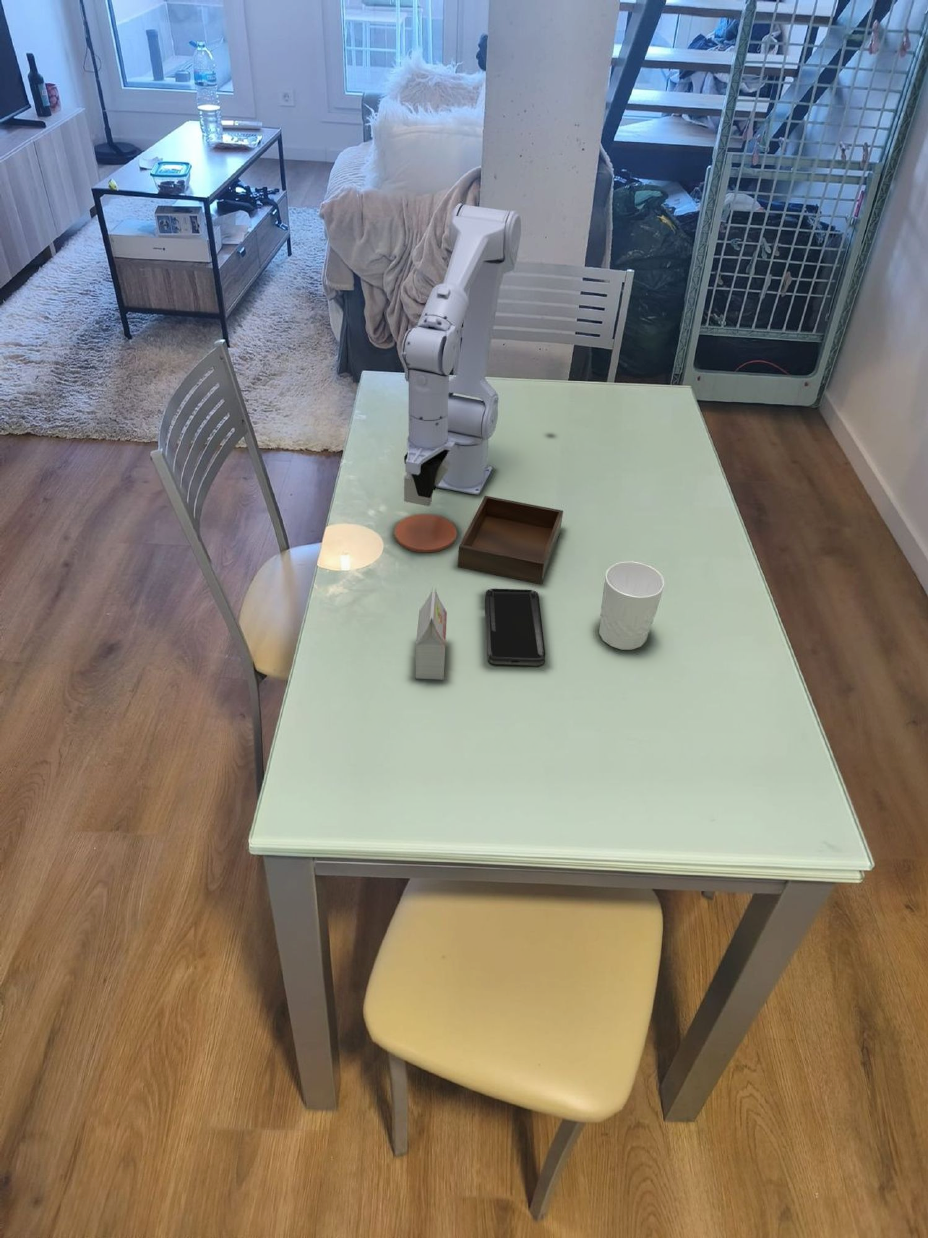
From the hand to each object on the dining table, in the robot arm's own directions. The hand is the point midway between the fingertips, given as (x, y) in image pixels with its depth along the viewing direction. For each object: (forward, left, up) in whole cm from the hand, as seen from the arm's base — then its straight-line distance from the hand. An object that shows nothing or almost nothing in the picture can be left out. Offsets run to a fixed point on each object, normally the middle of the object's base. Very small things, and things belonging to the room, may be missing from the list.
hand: (427, 492), depth 128 cm
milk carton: (+28, +10, -8) cm, 31 cm away
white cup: (+14, +34, -8) cm, 38 cm away
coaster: (0, 0, -8) cm, 8 cm away
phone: (+18, +19, -8) cm, 27 cm away
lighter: (0, 0, -2) cm, 2 cm away
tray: (-1, +14, -8) cm, 16 cm away
